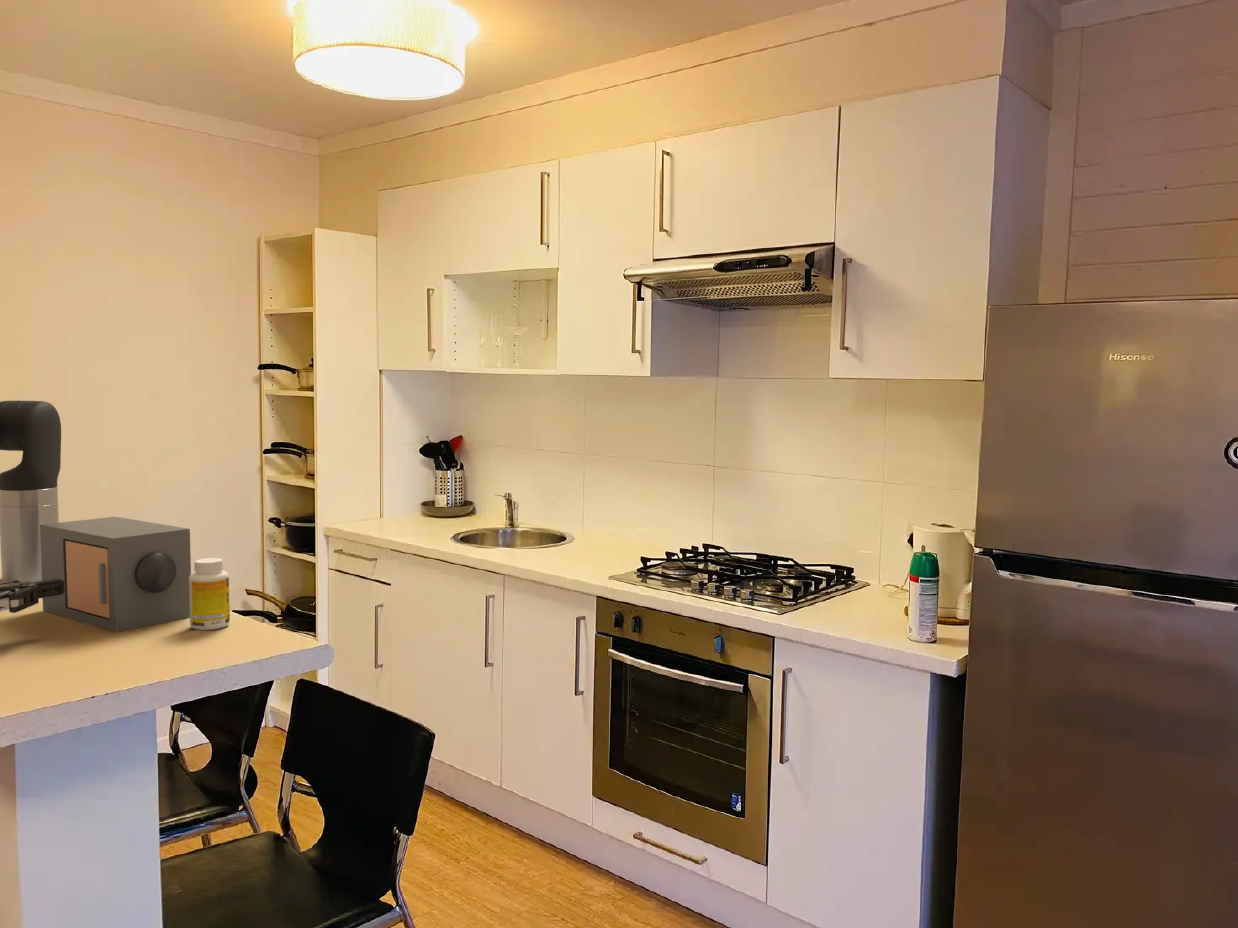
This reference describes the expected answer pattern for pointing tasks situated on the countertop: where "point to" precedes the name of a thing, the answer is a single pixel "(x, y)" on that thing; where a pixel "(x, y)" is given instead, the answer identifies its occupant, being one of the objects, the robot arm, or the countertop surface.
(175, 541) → the housing
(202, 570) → the supplement bottle
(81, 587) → the door
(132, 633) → the countertop surface
